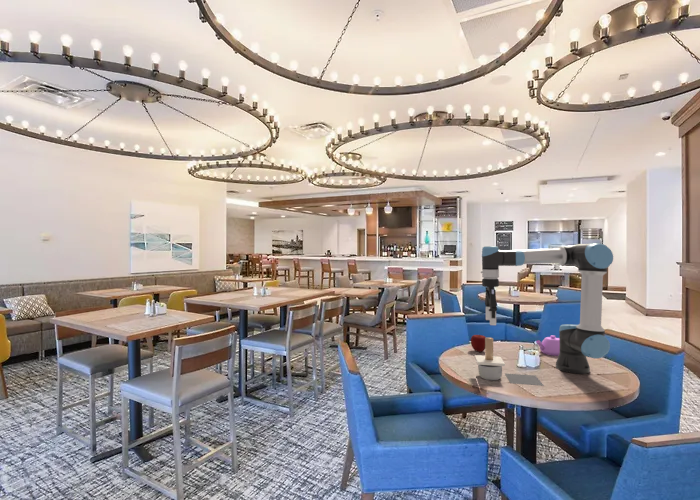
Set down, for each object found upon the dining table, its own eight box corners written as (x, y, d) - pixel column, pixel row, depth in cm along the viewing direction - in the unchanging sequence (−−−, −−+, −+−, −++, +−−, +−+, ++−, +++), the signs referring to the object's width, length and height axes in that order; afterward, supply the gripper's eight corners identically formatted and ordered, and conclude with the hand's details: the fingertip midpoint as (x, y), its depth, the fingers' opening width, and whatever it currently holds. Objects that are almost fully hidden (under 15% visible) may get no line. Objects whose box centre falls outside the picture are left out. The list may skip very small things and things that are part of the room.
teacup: (504, 384, 170) (504, 366, 170) (479, 382, 172) (479, 365, 172) (498, 374, 183) (498, 358, 183) (475, 373, 185) (475, 357, 185)
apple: (485, 354, 220) (485, 337, 220) (468, 351, 225) (468, 335, 225) (488, 350, 228) (488, 334, 228) (473, 348, 233) (473, 332, 233)
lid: (500, 359, 182) (500, 336, 182) (504, 366, 170) (504, 341, 171) (474, 357, 185) (474, 334, 185) (477, 364, 173) (477, 340, 173)
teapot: (529, 351, 227) (529, 333, 227) (557, 349, 230) (557, 332, 230) (545, 357, 213) (545, 339, 213) (575, 355, 217) (575, 337, 217)
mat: (535, 377, 179) (535, 375, 179) (544, 387, 165) (543, 385, 165) (504, 375, 182) (504, 373, 182) (510, 385, 168) (510, 383, 168)
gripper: (478, 276, 191) (479, 317, 191) (485, 280, 167) (486, 327, 167) (494, 276, 190) (494, 318, 190) (503, 280, 165) (504, 327, 165)
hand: (490, 322), depth 178 cm, fingers open, 13 cm apart
